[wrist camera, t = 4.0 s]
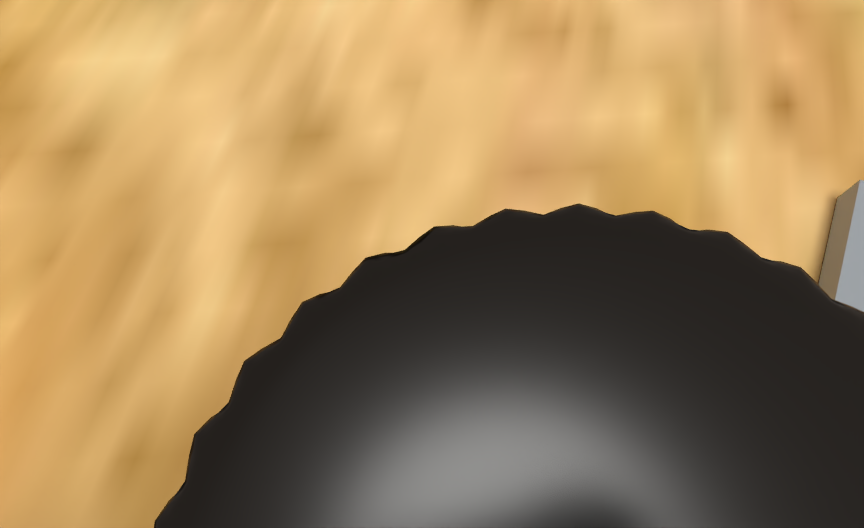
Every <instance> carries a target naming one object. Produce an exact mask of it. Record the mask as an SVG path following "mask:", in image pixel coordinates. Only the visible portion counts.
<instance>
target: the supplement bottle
mask: <svg viewBox="0 0 864 528" xmlns="http://www.w3.org/2000/svg"><path fill="white" fill-rule="evenodd" d="M154 528H864V312H862V311H860V310H858V309H856V308H854V307H852V306H849V305H847V304H844V303H841V302H839V301H836V300H834V299H831V298H830V297H829V295H828V294H827V293H826V292H825V291H824V290H823V289H822V288H821V287H820V286H819V285H818V284H817V282H816V281H815V280H813V279H812V278H811V277H810V276H809V275H808V274H807V273H806V272H805V271H804V270H803V269H802V268H801V267H798V266H794V265H791V264H788V263H784V262H781V261H771V260H768V259H765V258H761V257H760V256H759V255H757V254H756V253H755V252H754V251H753V250H751V249H750V248H749V247H748V246H746V245H745V244H744V243H743V242H741V241H740V240H738V239H737V238H735V237H734V236H733V235H731V234H730V233H728V232H723V231H715V230H701V231H698V230H689V229H687V228H685V227H683V226H681V225H678V224H677V223H675V222H674V221H673V220H671V219H670V218H668V217H665V216H663V215H661V214H659V213H657V212H655V211H644V212H633V213H628V214H623V215H617V216H615V215H612V214H608V213H605V212H603V211H601V210H599V209H597V208H593V207H589V206H586V205H582V204H575V205H571V206H568V207H564V208H560V209H558V210H555V211H552V212H550V213H547V214H545V215H542V214H537V213H532V212H528V211H521V210H512V209H504V210H502V211H500V212H498V213H495V214H493V215H491V216H489V217H487V218H486V219H484V220H482V221H481V222H479V223H477V224H476V225H474V226H467V227H460V226H454V225H451V226H436V227H433V228H432V229H430V230H429V231H427V232H426V233H425V234H423V235H422V236H420V237H419V238H418V239H417V240H416V241H415V242H413V243H412V244H411V245H410V246H409V247H408V248H407V249H405V250H403V251H399V252H395V253H383V254H379V255H375V256H371V257H367V258H365V259H364V260H363V261H362V262H361V263H360V264H359V266H358V267H357V268H356V269H355V270H354V271H353V272H352V273H351V274H350V276H349V277H348V278H347V279H346V281H345V282H344V283H343V284H342V286H341V287H340V288H337V289H335V290H333V291H331V292H328V293H323V294H319V295H317V296H315V297H313V298H310V299H308V300H306V301H304V302H302V303H301V305H300V306H299V308H298V309H297V311H296V312H295V314H294V315H293V317H292V318H291V320H290V322H289V324H288V326H287V328H286V330H285V331H284V333H283V335H282V337H281V338H280V339H278V340H276V341H275V342H273V343H271V344H269V345H268V346H266V347H264V348H262V349H261V350H259V351H258V352H257V353H255V354H254V355H252V356H251V357H249V358H248V359H247V360H245V361H244V363H243V365H242V368H241V370H240V372H239V374H238V377H237V379H236V382H235V385H234V388H233V391H232V394H231V397H230V400H229V403H228V404H227V405H226V406H225V407H224V408H223V409H222V410H221V411H220V412H219V413H217V414H216V415H214V416H213V417H211V418H210V419H209V420H208V421H207V422H206V423H205V424H204V425H203V426H202V427H201V428H200V429H199V430H198V431H197V432H196V433H195V434H194V438H193V442H192V446H191V450H190V454H189V460H188V466H187V473H186V480H185V482H184V483H183V485H182V486H181V488H180V489H179V491H178V492H177V494H176V495H175V496H173V497H172V498H171V499H170V500H169V501H168V503H167V504H166V506H165V507H164V509H163V510H162V512H161V513H160V514H159V516H158V517H157V519H156V520H155V524H154Z"/></svg>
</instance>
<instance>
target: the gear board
mask: <svg viewBox="0 0 864 528" xmlns="http://www.w3.org/2000/svg"><path fill="white" fill-rule="evenodd" d="M818 285H819V286H820V287H821V288H822V289H823V290H824V291H825V292H826V293H827V294H828V295H829V297H830V298H831V299H834V300H836V301H839V302H841V303H844V304H847V305H849V306H852V307H854V308H856V309H858V310H860V311H862V312H864V181H863V180H859V181H858V182H857V183H855V184H854V185H853V186H852V187H850V188H849V189H848V190H847V191H845V192H844V193H843V194H842V195H840V196H839V197H838V198H837V202H836V207H835V211H834V216H833V220H832V225H831V229H830V234H829V238H828V243H827V247H826V252H825V256H824V261H823V265H822V270H821V274H820V279H819V283H818Z"/></svg>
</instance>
